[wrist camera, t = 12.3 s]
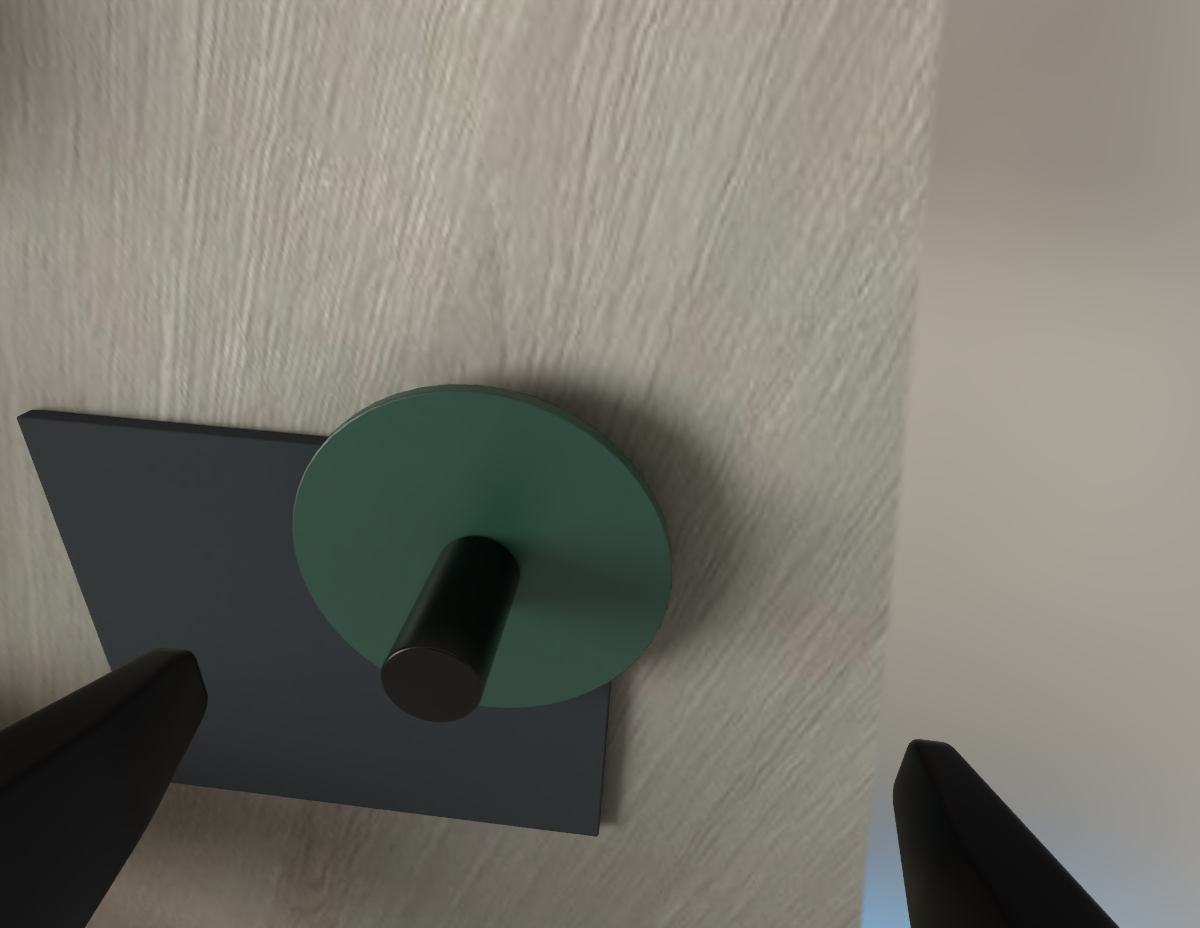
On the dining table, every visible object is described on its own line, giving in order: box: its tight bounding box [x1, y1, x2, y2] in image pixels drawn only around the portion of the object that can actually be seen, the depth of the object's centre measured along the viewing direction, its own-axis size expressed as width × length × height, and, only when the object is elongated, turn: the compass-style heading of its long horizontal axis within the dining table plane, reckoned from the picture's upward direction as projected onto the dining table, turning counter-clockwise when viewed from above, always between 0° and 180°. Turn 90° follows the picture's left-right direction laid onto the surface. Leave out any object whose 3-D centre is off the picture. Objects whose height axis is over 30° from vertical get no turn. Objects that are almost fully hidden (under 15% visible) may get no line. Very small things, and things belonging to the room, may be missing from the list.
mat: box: [17, 410, 611, 836], centre depth 24 cm, size 18×16×1 cm
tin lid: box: [292, 384, 672, 723], centre depth 19 cm, size 11×11×6 cm
